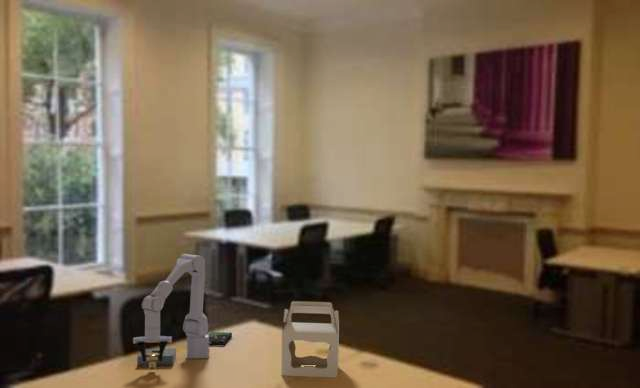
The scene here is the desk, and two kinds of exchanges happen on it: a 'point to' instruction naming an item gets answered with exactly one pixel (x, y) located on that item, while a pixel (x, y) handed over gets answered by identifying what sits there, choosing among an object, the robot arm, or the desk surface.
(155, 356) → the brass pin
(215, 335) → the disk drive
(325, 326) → the gable box
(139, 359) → the block
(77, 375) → the desk surface
